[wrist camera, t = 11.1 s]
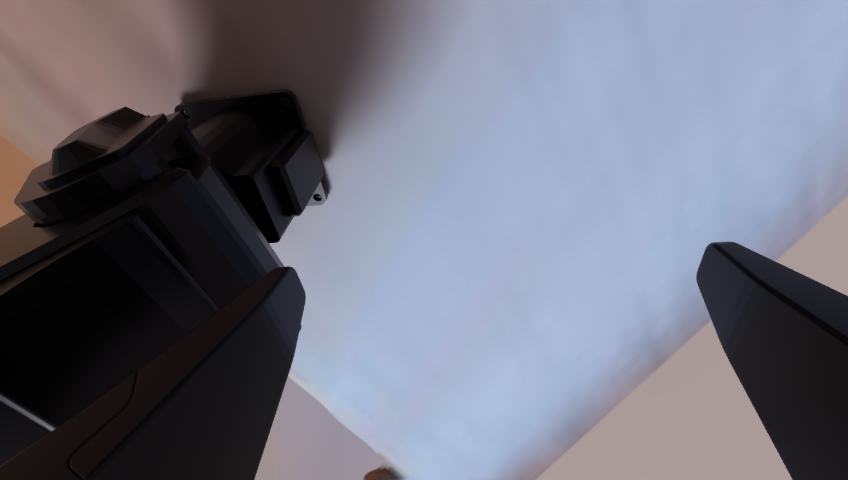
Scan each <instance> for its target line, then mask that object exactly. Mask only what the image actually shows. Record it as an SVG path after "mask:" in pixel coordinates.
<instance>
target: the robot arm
mask: <svg viewBox="0 0 848 480" xmlns="http://www.w3.org/2000/svg"><path fill="white" fill-rule="evenodd" d="M282 97H285V98H287V99H288V100H289V104H290V105H286V104H285V103H284V102H283V101H282ZM184 110H185V111H187V112H188V113H189V116H190V117H189V116H187V115H186V114H185V113H184ZM324 174H325V173H324V170H323V167H322V163H321V160H320V157H319V154H318V151H317V148H316V145H315V142H314V139H313V135H312V133H311V132H310V131H309V130H308V129H306V126H305V123H304V120H303V117H302V114H301V111H300V108H299V105H298V101H297V99H296V97H295V95H294V94H293V93H292V92H291V91H289V90H278V91H270V92H262V93H254V94H246V95H238V96H231V97H223V98H215V99H207V100H199V101H191V102H184V103H181V104H179V105H178V106H176V108H175V113H173V114H170V115H167V116H165V114H164V113H162V114H158V115H155V116H151V117H150V116H149V115H148V116H145V115H143V114H140V113H138V112H136V111H134V110H132V109H129V108H127V107H124V108H121V109H118V110H115V111H113V112H111V113H109V114H107V115H105V116H103V117H101V118H99V119H97V120H95V121H93V122H91V123H89V124H87V125H85V126H83V127H81V128H79V129H77V130H76V131H74V132H73V133H71V134H70V135H69V136H68V137H67V138H66V139H64V140H63V141H62V142H61V143H60V144H59V145H58V146H56V147H55V148H54V149H53V153H52V158H51V161H49V162H47V163H45V164H42V165H40V166H38V167H37V168H35V169H33V170H32V171H31V173H30V174H29V176H28V178H27V179H26V181H25V183H24V184H23V186H22V188H21V190H20V191H19V193H18V195H17V196H16V198H15V200H14V203H15V204H16V205H17V206H18V207H19V208H20V209H21V210H22V211H23V212H24V213H25V215H23V216H21V217H19V218H17V219H15V220H14V221H12V222H10V223H8V224H7V225H5V226H3V227H1V228H0V480H254V479H255V476H256V473H257V470H258V466H259V463H260V460H261V457H262V454H263V451H264V448H265V445H266V442H267V439H268V436H269V433H270V429H271V426H272V423H273V420H274V417H275V414H276V411H277V408H278V405H279V402H280V399H281V396H282V392H283V389H284V386H285V383H286V380H287V377H288V374H289V371H290V368H291V364H292V361H293V358H294V353H295V349H296V344H297V340H298V335H299V331H300V330H301V320H302V315H303V310H304V305H305V299H306V296H305V291H304V288H303V286H302V284H301V282H300V279H299V277H298V275H297V273H296V271H295V269H294V268H293V267H284V265H283V264H282V262H281V261H280V259H279V258H278V256H277V255H276V253H275V252H274V251H273V249H272V248H271V246H270V245H269V243H276V242H279V240H280V239H281V237H282V235H283V234H284V232H285V230H286V229H287V227H288V225H289V224H290V222H291V220H292V219H293V217H294V216H300V215H301V213H302V212H303V210H304V209H305V207H306V206H313V205H322V204H324V203H325V201H326V200H327V197H328V193H327V190H326V187H325V184H324V181H323V176H324ZM315 194H319V195H321V197H322V198H318V197H317V196H316V195H315ZM697 284H698V286H699V289H700V292H701V294H702V297H703V299H704V302H705V304H706V307H707V310H708V312H709V315H710V317H711V320H712V322H713V325H714V327H715V330H716V333H717V335H718V338H719V340H720V342H721V345H722V347H723V349H724V351H725V353H726V355H727V357H728V359H729V361H730V363H731V365H732V367H733V369H734V371H735V373H736V374H737V376H738V378H739V380H740V382H741V384H742V385H743V388H744V389H745V391H746V393H747V395H748V397H749V398H750V401H751V403H752V404H753V406H754V408H755V410H756V412H757V414H758V416H759V417H760V419H761V421H762V423H763V425H764V427H765V429H766V430H767V433H768V434H769V436H770V438H771V440H772V442H773V444H774V446H775V448H776V449H777V451H778V453H779V455H780V457H781V459H782V461H783V463H784V464H785V466H786V468H787V470H788V472H789V474H790V476H791V477H792V479H793V480H848V296H846V295H844V294H842V293H840V292H838V291H836V290H834V289H831V288H830V287H827V286H825V285H823V284H821V283H819V282H817V281H815V280H813V279H811V278H809V277H806V276H804V275H802V274H800V273H798V272H796V271H794V270H792V269H790V268H787V267H785V266H783V265H781V264H779V263H777V262H775V261H773V260H771V259H769V258H767V257H765V256H762V255H760V254H758V253H756V252H754V251H752V250H750V249H748V248H746V247H744V246H741V245H739V244H737V243H735V242H714V243H711V244H709V245H708V246H707V247H706V249H705V252H704V255H703V257H702V260H701V263H700V266H699V268H698V271H697Z"/></svg>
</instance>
